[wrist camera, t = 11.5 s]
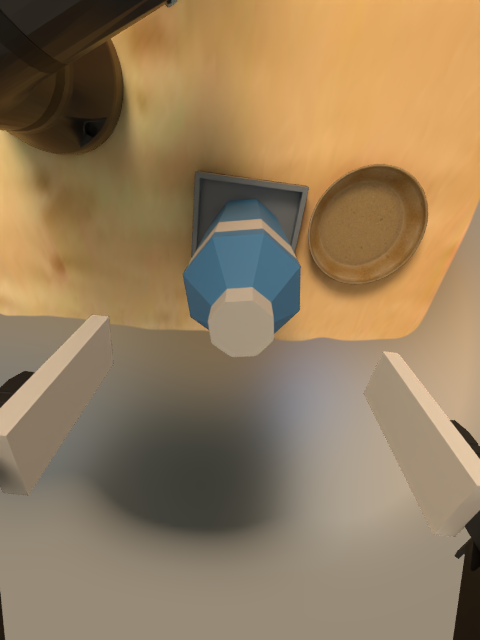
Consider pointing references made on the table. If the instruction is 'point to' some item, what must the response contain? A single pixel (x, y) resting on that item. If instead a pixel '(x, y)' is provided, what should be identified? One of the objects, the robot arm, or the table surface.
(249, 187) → the tray
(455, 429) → the robot arm
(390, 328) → the table surface
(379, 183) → the plant saucer
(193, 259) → the water bottle
